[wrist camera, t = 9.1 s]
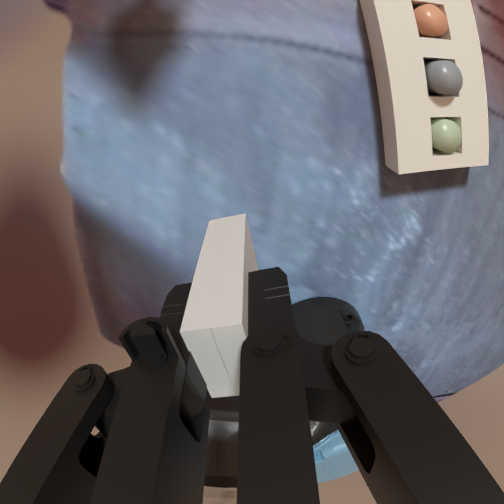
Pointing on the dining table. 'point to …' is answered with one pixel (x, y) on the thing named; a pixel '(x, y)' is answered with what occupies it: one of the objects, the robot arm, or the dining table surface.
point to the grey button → (443, 77)
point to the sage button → (445, 134)
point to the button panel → (415, 84)
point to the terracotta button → (430, 21)
